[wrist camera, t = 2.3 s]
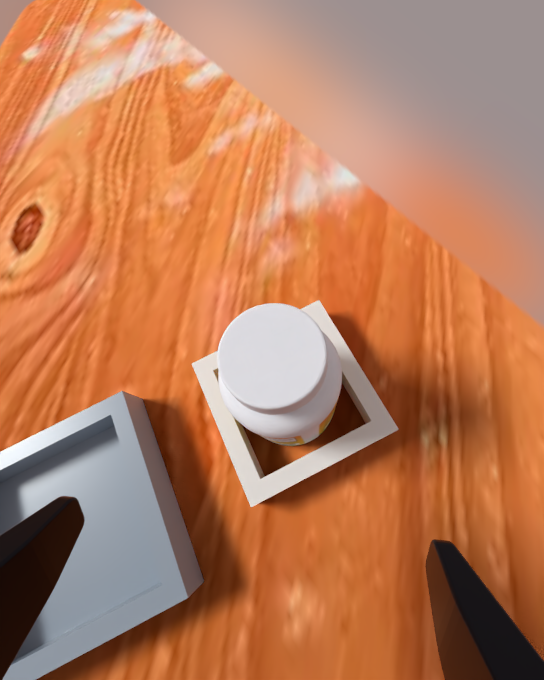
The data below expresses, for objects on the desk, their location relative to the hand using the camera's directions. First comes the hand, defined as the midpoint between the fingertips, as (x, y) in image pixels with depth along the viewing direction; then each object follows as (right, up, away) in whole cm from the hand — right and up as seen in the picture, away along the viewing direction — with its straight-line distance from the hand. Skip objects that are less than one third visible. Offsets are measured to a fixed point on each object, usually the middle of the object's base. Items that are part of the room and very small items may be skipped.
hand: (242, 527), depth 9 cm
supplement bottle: (+2, +1, +13) cm, 13 cm away
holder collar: (+2, +1, +13) cm, 13 cm away
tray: (-10, -6, +12) cm, 17 cm away
